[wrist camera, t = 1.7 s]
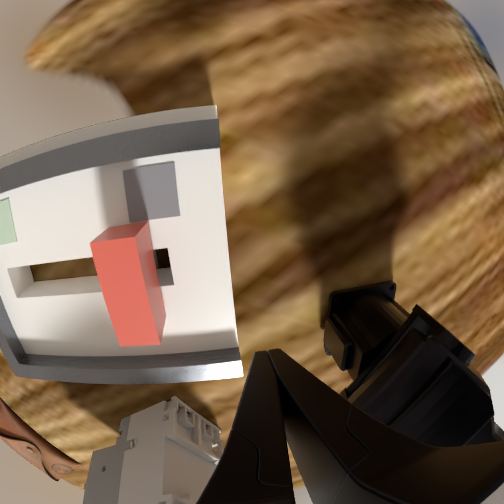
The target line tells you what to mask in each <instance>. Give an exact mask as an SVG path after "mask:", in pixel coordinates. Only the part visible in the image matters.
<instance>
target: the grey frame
mask: <svg viewBox="0 0 504 504" xmlns="http://www.w3.org/2000/svg"><path fill="white" fill-rule="evenodd" d="M220 148H221V146H220V132H219V119H208V120H198V121H189V122H181V123H173V124H166V125H159V126H153V127H147V128H141V129H136V130H131V131H125V132H121V133H116V134H111V135H107V136H102V137H98V138H94V139H90V140H86V141H82V142H78V143H75V144H71V145H68V146H64V147H61V148H57V149H54V150H51V151H48V152H45V153H42V154H39V155H36V156H33V157H30V158H27V159H24V160H21V161H19V162H16V163H14V164H11V165H8V166H6V167H3V168H1V169H0V194H2V193H5V192H7V191H10V190H13V189H16V188H20V187H23V186H26V185H29V184H32V183H36V182H39V181H43V180H46V179H50V178H54V177H57V176H61V175H65V174H69V173H73V172H77V171H81V170H86V169H90V168H94V167H99V166H104V165H109V164H114V163H119V162H124V161H130V160H135V159H141V158H147V157H154V156H160V155H167V154H175V153H182V152H191V151H200V150H209V149H220ZM0 348H1V350H2V352H3V354H4V356H5V358H6V360H7V361H8V363H9V365H10V367H11V368H12V370H13V372H14V374H15V375H16V376H19V377H26V378H33V379H42V380H51V381H61V382H75V383H93V384H161V383H180V382H194V381H205V380H216V379H225V378H233V377H241V376H243V372H242V364H241V358H240V352H239V347H234V348H226V349H217V350H208V351H198V352H186V353H173V354H158V355H138V356H57V355H38V354H26V353H25V351H24V349H23V347H22V345H21V343H20V341H19V339H18V337H17V334H16V332H15V330H14V328H13V326H12V323H11V321H10V319H9V316H8V314H7V311H6V309H5V306H4V304H3V301H2V299H1V296H0Z"/></svg>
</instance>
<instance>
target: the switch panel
mask: <svg viewBox="0 0 504 504" xmlns="http://www.w3.org/2000/svg"><path fill="white" fill-rule="evenodd" d="M208 119H217V105H209V106H199V107H190V108H181V109H174V110H167V111H160V112H154V113H148V114H142V115H137V116H132V117H127V118H122V119H117V120H113V121H108V122H105V123H100V124H96V125H92V126H88V127H85V128H81V129H78V130H74V131H70V132H67V133H64V134H61V135H58V136H55V137H51V138H49V139H45V140H42V141H40V142H37V143H34V144H31V145H29V146H26V147H23V148H21V149H18V150H16V151H13V152H11V153H8V154H6V155H4V156H1V157H0V169H1V168H3V167H6V166H8V165H11V164H14V163H16V162H19V161H21V160H24V159H27V158H30V157H33V156H36V155H39V154H42V153H45V152H48V151H51V150H54V149H57V148H61V147H64V146H68V145H71V144H75V143H78V142H82V141H86V140H90V139H94V138H98V137H102V136H107V135H111V134H116V133H121V132H125V131H131V130H136V129H141V128H147V127H153V126H159V125H166V124H173V123H181V122H189V121H198V120H208ZM140 222H148V225H149V231H150V237H151V243H152V249H153V250H154V249H163V248H168V253H169V259H170V264H171V267H170V268H161V269H157V275H158V280H159V285H160V289H161V294H162V298H163V303H164V307H165V311H166V320H165V325H164V330H163V335H162V340H161V344H160V345H143V346H120V344H119V341H118V339H117V336H116V333H115V330H114V328H113V325H112V322H111V319H110V316H109V313H108V310H107V306H106V303H105V300H104V297H103V293H102V290H101V286H100V283H99V279H98V275H95V276H85V277H76V278H66V279H56V280H46V281H36V282H34V279H33V276H32V272H31V269H30V266H29V265H35V264H43V263H50V262H58V261H65V260H73V259H81V258H89V257H93V256H92V251H91V247H90V242H91V241H93V240H94V239H95V238H96V237H97V236H99V235H100V234H101V233H102V232H103V231H105V230H106V229H107V228H108V227H112V226H119V225H126V224H133V223H140ZM0 296H1V299H2V301H3V304H4V306H5V309H6V311H7V314H8V316H9V319H10V321H11V323H12V326H13V328H14V330H15V332H16V334H17V337H18V339H19V341H20V343H21V345H22V347H23V349H24V351H25V353H26V354H38V355H57V356H138V355H158V354H173V353H186V352H198V351H208V350H217V349H226V348H234V347H238V338H237V329H236V321H235V312H234V302H233V293H232V284H231V274H230V264H229V254H228V243H227V233H226V222H225V211H224V199H223V187H222V175H221V162H220V149H209V150H200V151H191V152H182V153H175V154H167V155H160V156H154V157H147V158H141V159H135V160H130V161H124V162H119V163H114V164H109V165H104V166H99V167H94V168H90V169H86V170H81V171H77V172H73V173H69V174H65V175H61V176H57V177H54V178H50V179H46V180H43V181H39V182H36V183H32V184H29V185H26V186H23V187H20V188H16V189H13V190H10V191H7V192H5V193H2V194H0Z"/></svg>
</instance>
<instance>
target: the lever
mask: <svg viewBox="0 0 504 504" xmlns="http://www.w3.org/2000/svg"><path fill="white" fill-rule="evenodd" d="M90 247H91V251H92V256H93V260H94V264H95V268H96V272H97V275H98V279H99V283H100V286H101V290H102V293H103V297H104V300H105V303H106V306H107V310H108V313H109V316H110V319H111V322H112V325H113V328H114V330H115V333H116V336H117V339H118V341H119V344H120V346H143V345H160V344H161V340H162V335H163V330H164V325H165V320H166V311H165V307H164V303H163V298H162V294H161V289H160V285H159V280H158V275H157V269H158V266H159V265H158V260H157V254H156V249H154V250H153V249H152V243H151V237H150V231H149V225H148V222H140V223H133V224H126V225H119V226H112V227H108V228H107V229H106V230H105V231H103V232H102V233H101V234H100V235H99V236H97V237H96V238H95V239H94V240H93V241H91V242H90Z"/></svg>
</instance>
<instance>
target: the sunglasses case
mask: <svg viewBox="0 0 504 504" xmlns="http://www.w3.org/2000/svg"><path fill="white" fill-rule="evenodd" d="M0 438H1V439H2V440H3V441H4V442H5V443H7V444H8V445H9V446H10V447H11V448H12V449H13V450H15V451H16V452H17V453H18V454H20V455H21V456H22V457H24V458H25V459H26V460H28V461H29V462H31V463H32V464H33V465H34V466H36V467H37V468H39V469H41V470H42V471H43V472H45V473H46V474H47V475H48V476H49V477H50V478H52V479H54V480H55V481H59V479H61V478H62V477H64V476H65V475H67V474H68V473H70V472H71V471H73V470H74V469H76V468H77V467H79V466H83V465H81V464H80V463H78V462H77V461H75V460H73V459H72V458H70V457H68V456H67V455H65V454H64V453H62V452H61V451H60V450H58V449H57V448H55V447H54V446H53V445H51V444H50V443H49V442H47V441H46V440H45V439H44V438H42V437H41V436H40V435H39V434H37V433H36V432H35V431H34V430H33V429H32V428H30V427H29V426H28V425H27V424H26V423H25V422H24V421H23V420H21V419H20V418H19V417H18V416H17V415H16V414H15V413H14V412H13V411H12V410H11V409H10V408H9V407H8V406H7V404H6V403H5V402H4V401H3V400H1V398H0Z"/></svg>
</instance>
